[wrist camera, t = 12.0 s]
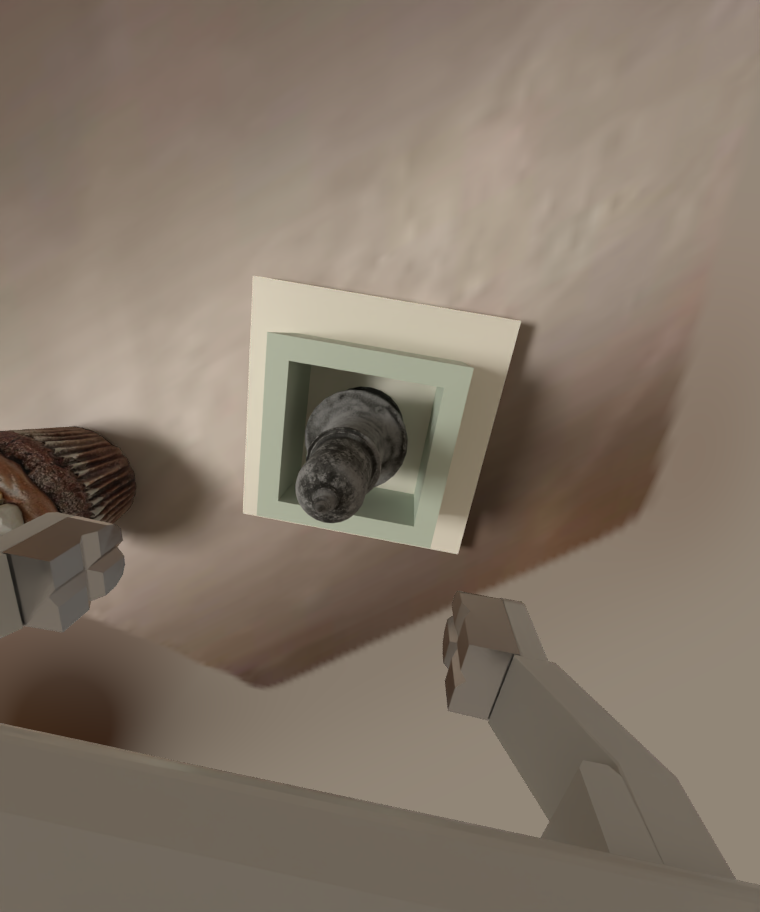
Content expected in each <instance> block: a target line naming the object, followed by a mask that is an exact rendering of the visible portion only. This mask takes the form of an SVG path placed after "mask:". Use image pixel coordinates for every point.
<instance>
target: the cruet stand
mask: <svg viewBox="0 0 760 912" xmlns="http://www.w3.org/2000/svg"><path fill="white" fill-rule="evenodd" d="M520 324H521V321H519V320H513V319H507V318H501V317H495V316H489V315H483V314H477V313H471V312H465V311H459V310H454V309H448V308H442V307H436V306H430V305H424V304H418V303H412V302H406V301H400V300H394V299H389V298H383V297H377V296H371V295H365V294H359V293H353V292H347V291H341V290H335V289H329V288H323V287H318V286H312V285H306V284H300V283H294V282H288V281H282V280H276V279H270V278H264V277H258V276H253V287H252V310H251V334H250V357H249V380H248V403H247V426H246V449H245V472H244V495H243V513H244V514H249V515H255V516H260V517H265V518H270V519H276V520H281V521H286V522H291V523H297V524H302V525H307V526H312V527H318V528H323V529H328V530H334V531H339V532H344V533H349V534H355V535H360V536H365V537H370V538H376V539H381V540H386V541H391V542H397V543H402V544H407V545H412V546H418V547H423V548H428V549H433V550H439V551H444V552H449V553H455V554H458V552H459V548H460V545H461V541H462V537H463V534H464V530H465V526H466V523H467V519H468V515H469V512H470V508H471V504H472V501H473V497H474V493H475V490H476V486H477V482H478V478H479V475H480V471H481V467H482V464H483V460H484V456H485V453H486V449H487V445H488V442H489V438H490V434H491V431H492V427H493V423H494V420H495V416H496V412H497V409H498V405H499V401H500V398H501V394H502V390H503V387H504V383H505V379H506V375H507V372H508V368H509V364H510V361H511V357H512V353H513V350H514V346H515V342H516V339H517V335H518V331H519V328H520ZM355 387H372V388H375V389H377V390H380V391H382V392H384V393H385V394H387V395H388V396H390V397H391V398H392V400H393V401H394V402H395V403H396V404H397V405H398V407H399V409H400V412H401V414H402V417H403V422H404V424H405V427H406V432H407V437H408V443H407V453H406V456H405V459H404V461H403V464H402V466H401V467H400V468H399V470H398V471H397V472H396V474H395V475H394V476H393V477H391V478H390V479H389V480H388V481H386V482H385V483H383V484H381V485H379V486H376V487H374V488H373V489H372V490H371V491H370V492H369V493H367V494H366V495H365V498H364V501H363V504H362V506H361V507H360V508H359V510H358V511H357V512H356V513H355V514H354V515H353V516H352V517H350V518H349V519H347V520H345V521H342V522H338V523H324V522H321V521H318V520H316V519H314V518H312V517H311V516H309V515H308V514H307V513H306V512H305V511H304V510H303V509H302V507H301V506H300V504H299V502H298V500H297V496H296V480H297V477H298V473H299V471H300V470H301V468H302V466H303V465H304V464H305V463H306V456H307V450H306V446H305V429H306V426H307V422H308V419H309V417H310V415H311V414H312V412H313V410H314V409H315V407H316V406H317V405H319V404H320V403H321V402H322V401H323V400H324V399H325V398H327V397H329V396H331V395H333V394H335V393H337V392H341V391H346V390H348V389H350V388H355Z"/></svg>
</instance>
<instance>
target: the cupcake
mask: <svg viewBox="0 0 760 912" xmlns="http://www.w3.org/2000/svg"><path fill="white" fill-rule="evenodd" d="M135 490H136V482H135V477H134V471H133V470H132V468H131V467H130V465H129V461H128V459H127V458H126V457H125V456H124V455H123V454H122V452H121V449H120V448H118V447H115V446H113V445H111V444H110V443H109V442H108V441H106V440H105V439H104V438H103V437H102V436H100V435H99V434H97V433H95V432H92V431H90V430H85V429H84V428H78V427H57V428H44V429H25V430H9V431H0V536H1V535H3V534H5V533H7V532H9V531H11V530H13V529H15V528H17V527H19V526H21V525H23V524H25V523H27V522H29V521H31V520H33V519H35V518H37V517H40V516H42V515H44V514H46V513H50V512H59V513H64V514H69V515H73V516H79V517H84V518H88V519H93V520H97V521H102V522H107V523H111V524H113V523H114V522H115V521H116V520H118V519H119V518H120V517H121V516H122V515H123V514H124V513H125V512H126V511H127V510H128V509H129V508H130V506H131V505H132V503H133V496H134V495H135Z"/></svg>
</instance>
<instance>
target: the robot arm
mask: <svg viewBox="0 0 760 912" xmlns="http://www.w3.org/2000/svg"><path fill="white" fill-rule="evenodd" d="M122 541H123V539H122V533H121V528H120V527H118V526H117V525H115V524H111V523H107V522H102V521H97V520H93V519H88V518H84V517H79V516H73V515H69V514H64V513H59V512H50V513H46V514H44V515H42V516H40V517H37V518H35V519H33V520H31V521H29V522H27V523H25V524H23V525H21V526H19V527H17V528H15V529H13V530H11V531H9V532H7V533H5V534H3V535H1V536H0V638H2V637H4V636H6V635H9V634H11V633H13V632H15V631H17V630H19V629H22V628H23V626H28V627H34V628H40V629H46V630H52V631H58V632H64V631H65V630H66V629H67V628H68V627H69V626H71V625H72V624H73V623H74V622H75V621H76V620H78V619H79V618H80V617H81V616H82V615H83V614H85V613H86V612H87V611H88V610H89V608H90V603H91V601H93V600H95V599H98V598H100V597H103V596H105V595H107V594H108V593H109V592H110V591H111V590H112V589H113V588H114V587H115V586H116V585H117V583H118V582H119V580H120V578H121V577H122V575H123V571H124V566H125V560H124V555H123V554H122V552H121V551H120V550H119V549H118V545H119V544H120V543H121V542H122ZM452 611H453V616H451V617H450V618H449V619H448V620H447V623H446V627H445V631H444V638H443V662H444V664H445V666H446V667H447V668H448V673H447V676H446V680H445V686H446V696H447V707H448V711H450V712H455V713H459V714H463V715H467V716H472V717H476V718H480V719H485V720H489V722H488V723H489V725H490V726H491V728H492V730H493V731H494V733H495V734H496V736H497V738H498V739H499V741H500V742H501V744H502V746H503V747H504V749H505V751H506V752H507V754H508V755H509V757H510V759H511V760H512V762H513V764H514V765H515V766H516V768H517V770H518V772H519V773H520V775H521V776H522V778H523V779H524V781H525V783H526V784H527V786H528V788H529V789H530V791H531V792H532V794H533V796H534V797H535V799H536V800H537V802H538V804H539V805H540V807H541V809H542V810H543V812H544V813H545V815H546V817H547V818H548V820H549V824H548V825H547V827H546V829H545V831H544V832H543V834H542V836H541V838H538V837H533V836H528V835H524V834H519V833H514V832H509V831H505V830H500V829H495V828H491V827H486V826H481V825H477V824H472V823H467V822H463V821H458V820H453V819H448V818H444V817H439V816H434V815H429V814H425V813H420V812H415V811H411V810H406V809H401V808H397V807H392V806H388V805H383V804H378V803H373V802H369V801H364V800H359V799H354V798H350V797H345V796H340V795H336V794H331V793H326V792H322V791H317V790H312V789H307V788H303V787H298V786H293V785H288V784H284V783H279V782H274V781H270V780H265V779H260V778H255V777H251V776H246V775H241V774H236V773H232V772H227V771H222V770H217V769H213V768H208V767H203V766H198V765H194V764H189V763H185V762H180V761H175V760H170V759H165V758H161V757H156V756H152V755H147V754H142V753H137V752H133V751H128V750H123V749H119V748H114V747H110V746H104V745H100V744H95V743H91V742H86V741H81V740H77V739H72V738H67V737H62V736H58V735H53V734H48V733H44V732H39V731H35V730H29V729H25V728H20V727H16V726H11V725H6V724H1V723H0V912H760V885H758V884H753V883H748V882H744V881H740V880H736V878H735V876H734V875H733V873H732V871H731V870H730V868H729V866H728V864H727V863H726V861H725V859H724V858H723V856H722V854H721V852H720V851H719V849H718V847H717V846H716V844H715V842H714V840H713V839H712V837H711V835H710V834H709V832H708V830H707V828H706V827H705V825H704V823H703V822H702V820H701V818H700V817H699V815H698V813H697V811H696V810H695V808H694V806H693V804H692V803H691V801H690V799H689V798H688V796H687V794H686V793H685V791H684V789H683V787H682V786H681V784H680V782H679V780H678V779H677V777H676V776H675V775H674V774H673V773H672V772H670V771H669V770H668V769H667V768H666V767H665V766H664V765H663V764H662V763H661V762H660V761H659V760H658V759H657V758H656V757H654V756H653V755H652V754H651V753H650V752H649V751H648V750H647V749H646V748H645V747H644V746H643V745H642V744H641V743H640V742H639V741H637V739H636V738H634V737H633V736H632V735H631V734H630V733H629V732H628V731H627V730H626V729H625V728H624V727H623V726H622V725H620V724H619V722H617V721H616V720H615V719H614V718H613V717H612V716H611V715H610V714H609V713H608V712H607V711H606V710H605V709H604V708H602V706H601V705H599V704H598V703H597V702H596V701H595V700H594V699H593V698H592V697H591V696H590V695H589V694H588V693H587V692H586V691H585V690H583V689H582V688H581V687H580V686H579V685H578V684H577V683H576V682H575V681H574V680H573V679H572V678H571V677H570V676H569V675H567V673H566V672H565V671H564V670H562V669H561V668H560V667H559V666H558V665H557V664H556V663H553V662H549V661H548V659H547V657H546V654H545V652H544V650H543V647H542V645H541V643H540V640H539V638H538V635H537V633H536V630H535V628H534V626H533V623H532V620H531V618H530V616H529V613H528V611H527V608H526V606H525V604H524V603H522V602H521V601H515V600H509V599H503V598H500V599H498V598H493V597H488V596H483V595H477V594H472V593H467V592H461V591H457V592H456V593H455V595H454V598H453V602H452Z"/></svg>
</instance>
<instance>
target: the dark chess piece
mask: <svg viewBox="0 0 760 912" xmlns="http://www.w3.org/2000/svg"><path fill="white" fill-rule="evenodd" d="M407 443H408V437H407V432H406V427H405V424H404V422H403V417H402V414H401V412H400V409H399V407H398V405H397V404H396V403H395V402H394V401H393V400H392V398H391V397H390V396H388V395H387V394H385V393H384V392H382V391H380V390H377V389H375V388H372V387H355V388H350V389H348V390H346V391H341V392H337V393H335V394H333V395H331V396H329V397H327V398H325V399H324V400H323V401H322V402H321V403H320V404H319V405H317V406H316V407H315V409H314V410H313V412H312V414H311V415H310V417H309V419H308V422H307V426H306V429H305V446H306V450H307V456H306V463H305V464H304V465H303V466H302V468H301V470H300V471H299V473H298V477H297V480H296V496H297V500H298V502H299V504H300V506H301V507H302V509H303V510H304V511H305V512H306V513H307V514H308V515H309V516H311V517H312V518H314V519H316V520H318V521H321V522H324V523H338V522H342V521H345V520H347V519H349V518H350V517H352V516H353V515H354V514H355V513H356V512H357V511H358V510H359V508H360V507H361V506H362V504H363V501H364V498H365V495H366V494H367V493H369V492H370V491H371V490H372V489H373V488H374V487H376V486H379V485H381V484H383V483H385V482H386V481H388V480H389V479H390V478H391V477H393V476H394V475H395V474H396V472H397V471H398V470H399V468H400V467H401V466H402V464H403V461H404V459H405V456H406V453H407Z"/></svg>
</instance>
